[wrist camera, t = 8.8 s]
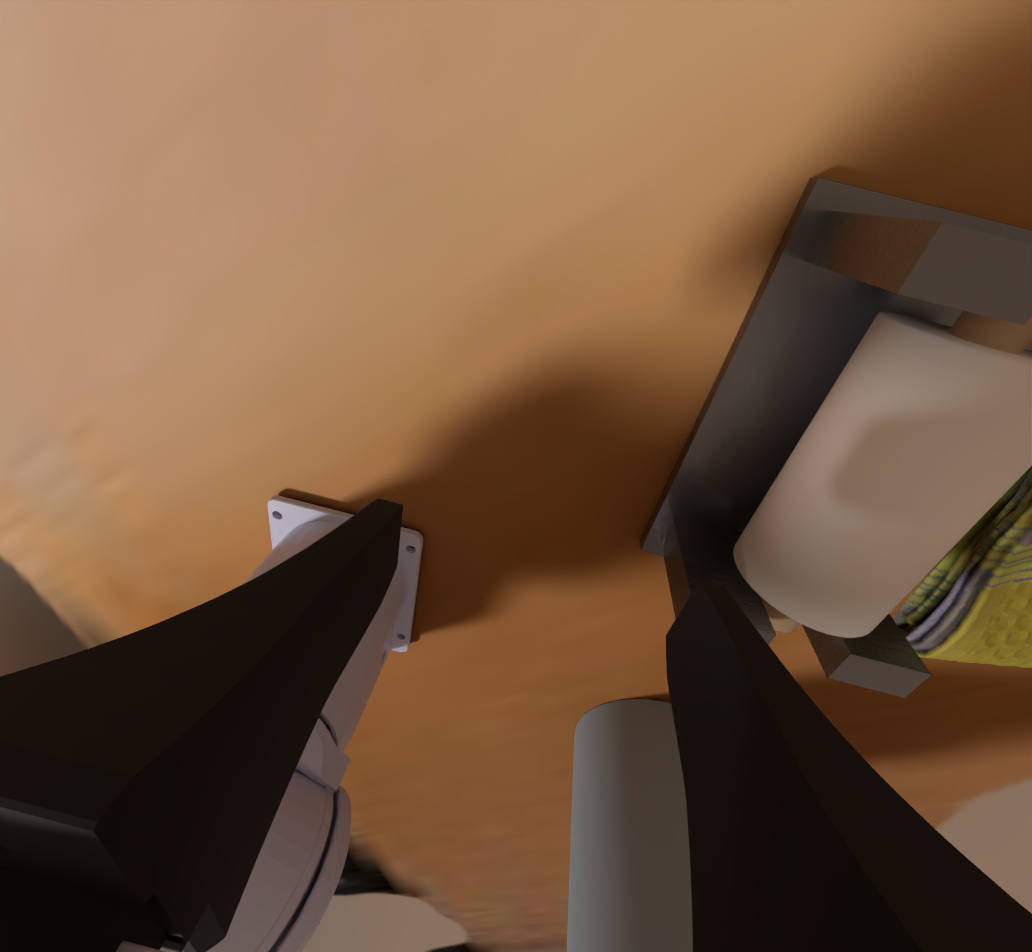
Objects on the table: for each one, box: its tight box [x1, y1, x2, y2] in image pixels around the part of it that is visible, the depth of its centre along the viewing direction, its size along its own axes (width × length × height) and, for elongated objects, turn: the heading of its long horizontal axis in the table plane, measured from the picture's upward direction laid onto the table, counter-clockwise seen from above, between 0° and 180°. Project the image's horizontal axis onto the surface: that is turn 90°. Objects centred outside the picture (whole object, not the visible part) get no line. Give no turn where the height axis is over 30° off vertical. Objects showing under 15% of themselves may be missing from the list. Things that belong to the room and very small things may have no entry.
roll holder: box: [640, 178, 1032, 698], centre depth 15 cm, size 15×10×6 cm, turn 168°
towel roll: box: [733, 310, 1032, 638], centre depth 15 cm, size 13×5×5 cm, turn 168°
